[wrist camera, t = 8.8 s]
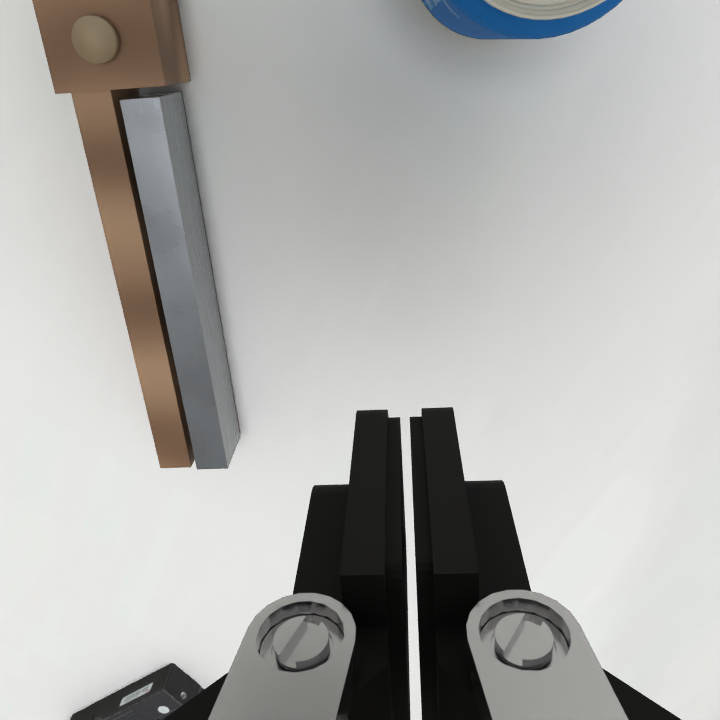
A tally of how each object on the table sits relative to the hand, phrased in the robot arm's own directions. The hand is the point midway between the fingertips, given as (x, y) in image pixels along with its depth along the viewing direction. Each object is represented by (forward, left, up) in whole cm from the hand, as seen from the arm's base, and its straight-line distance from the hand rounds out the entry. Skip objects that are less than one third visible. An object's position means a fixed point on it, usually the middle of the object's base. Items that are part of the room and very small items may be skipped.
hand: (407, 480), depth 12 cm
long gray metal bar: (+3, -10, -21) cm, 23 cm away
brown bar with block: (+2, -11, -21) cm, 24 cm away
